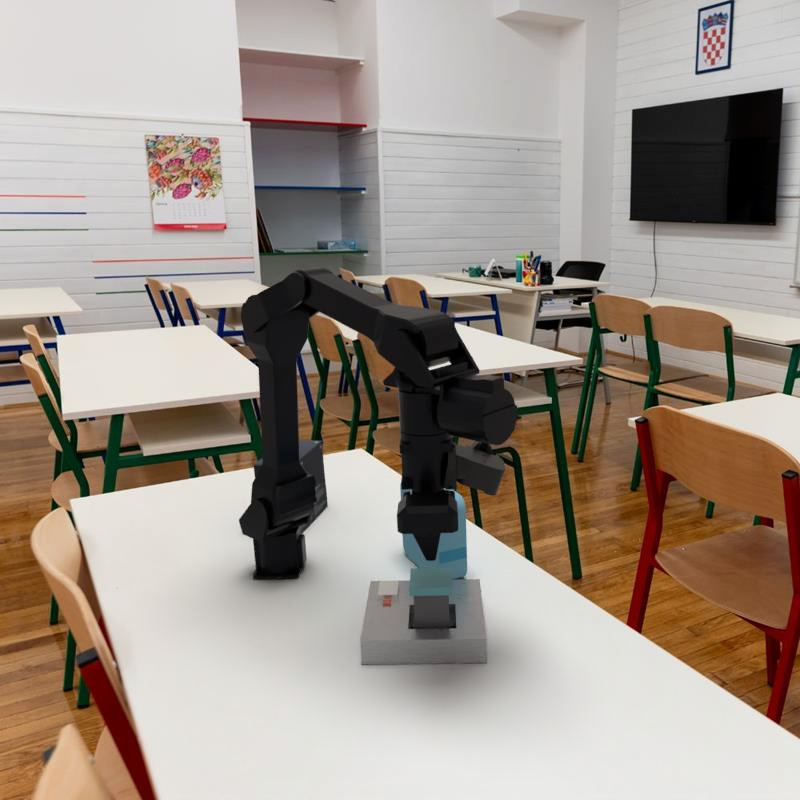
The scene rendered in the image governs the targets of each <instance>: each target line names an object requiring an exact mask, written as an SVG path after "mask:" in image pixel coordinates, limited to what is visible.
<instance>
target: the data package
mask: <svg viewBox="0 0 800 800" xmlns="http://www.w3.org/2000/svg"><path fill="white" fill-rule="evenodd" d="M399 487H400V501H401V500H402V499H403V493H405V492H410V489H403V490H402V487H401V484H400V486H399ZM444 490H446V489H445V488H444ZM449 491H454V492H455V500H456V501H457V507H458V531H456V532H454V533H441V535H440V540H439V546H438V551H437V556H436V560H434V561H427V560H426V559H425V557H424V555H423V553H422V551H421V549H420V547H419V545H418V543H417V542H416V540H415V538H414V536H413V534H402V533H401V535H402V547H403V550H404V554H405V556H406V557H407V558H408V559H409V560H410V561H411V562H412V563H413V564H414V565H415V566H416V568H451V574H452V580H458V579H460V578H464V577H465V576H467V574H468V549H467V548H468V547H467V543H468V541H467V540H468V539H467V509H466V508H467V507H466V506H467V505H466V503H465V500H464V497H463V496H462V495H461V494H460V493H459V492H457V491H455V490H449Z"/></svg>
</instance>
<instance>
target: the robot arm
mask: <svg viewBox="0 0 800 800" xmlns="http://www.w3.org/2000/svg"><path fill="white" fill-rule="evenodd" d="M240 310H241V311H240V321H241V324H242V331H243V336H244V337H243V338H244V342H245V344H246V345H247V346H248V348H249V349H250V351H251V352H252V354H253V355H254V357H255V358H256V360H257V364H258V386H259V389H258V390H259V391H258V392H259V406H260V407H259V410H260V411H259V412H260V427H261V428H260V429H261V430H260V431H261V433H260V435H261V453H262V456H261V457H262V458H263V463H262V466H261V468H260V469H259V471H258V473H257V475H256V477H255V476H254V479H253V481H252V485H251V495H250V496H251V497H250V504H249V505H248V507H247V508H246V509H245V510H244V512H243V514H242V515H241V516H240V518H239V519H238V524H239V526H240V530H241V533H242V535H244V536H247V537H248V538H251V539H252V543H253V544H252V545H253V553H254V563H255V569H254V572H253V573H252V579H255V580H258V579H259V580H262V579H263V580H264V579H267V580H268V579H296V578H297V579H298V578H299V577H300V575H301V574H302V573H301V572H302V571H303V570H302V569H304V568H305V565H306V562H307V561H308V560H307V547H306V536H305V534H304V533H302V534H301V530H300V526H301V525H304V524H308V523H309V522H310V517H311V512H312V511H313V508H314V503H315V502H317V498H316V494H315V484H316V479H315V477H314V476H313V475H309V474H308V473H307V472H306V470H305V469H304V467H303V466H302V465H301V463H300V456H299V440H300V437H299V436H300V430H299V428H300V427H299V400H298V399H299V397H298V396H299V395H298V391H299V390H298V367H297V366H298V358H299V356H300V354H301V352H302V350H303V348H304V346H305V345H306V343H307V341H308V338H309V337H308V336H309V327H310V320H311V319H312V318H313V317H314V316H316V315H318V314H319V313H320V314H321V313H322V314H323V315H325V316H327V317H328V318H330V319H333V320H334V321H337V323H339V324H342V325H344V326H345V327H347V328H348V329H350V330H353V331H354V332H357V333H358V334H361V336H364V337H366V338H368V340H370V341H371V342H373V345H374V348H375V349H376V352H377V354H378V355H379V356H380V357H382V358H383V359H384V360H385V361H386V362H388V363H389V364H390V365H392V367H394V368H393V370H392V371H391V373H390V374H388V375H387V376H386V377H385V378H384V379H383V381H382V383H383V386H385V387H391V388H397V392H398V393H397V394H398V395H397V396H398V397H397V398H398V415H399V416H398V418H399V435H400V437H399V438H400V439H399V454H400V455H401V456H400V459H401V460H400V461H401V479H400V485H401V487H402V490H403V489H410V492H405V493H403V499H402V500H401V499H400V501H398V503H397V511H396V523H397V524H396V525H397V527H396V528H397V533H398V534H399V533H400V534H401V535H402V534H413V536H414V538H415V540H416V542H417V543H418V545H419V547H420V549H421V551H422V553H423V555H424V557H425V559H426V560H427V561H434V560H436V556H437V551H438V546H439V540H440V535H441V533H454V532H456V531H458V507H457V501H456V500H455V492H454V491H455V490H458V485H457V484H459V485H462V486H465V487H469V488H471V489H474V490H477V491H480V492H483V493H484V494H485V495H488V496H491V497H493V496H497V494H498V492H499V489H500V486H501V483H502V480H503V478H504V474H505V472H506V465H505V462H504V460H503V458H502V457H500V455H499V454H497V453H496V454H493V448H492V446H500V445H503V444H505V443H506V442H507V441H508V439H509V438H510V437H511V436H512V435H513V432H514V430H515V427H516V425H517V420H518V405H517V404H516V402H515V399H514V397H513V395H512V393H511V392H510V391H509V390H508V389H506V388H505V379H504V377H503V376H497V375H489V376H484V375H479V374H480V372H481V371H480V368H479V366H478V365H477V363H476V362H475V359H474V357H473V356H472V355H471V353H470V351H469V349H468V348H467V346H466V344H465V343H464V341H463V339H462V337H461V336H460V334H459V332H458V330H457V328H456V323H455V322H456V321H455V320H454V319H453V318H452V317H451V316H450V315H449V314H447V313H445V312H443V311H439V310H436V309H430V308H427V307H422V306H410V305H402V304H401V305H400V304H397V303H394V302H391V301H389V300H388V299H385V298H383V297H380V296H379V295H376V294H375V293H372V292H371V291H368V290H366V289H364V288H362V287H360V286H358V285H356V284H354V283H353V282H349V281H348V280H346V279H343V278H342V277H339V276H338V275H335V274H334V273H333V272H332V271H331V270H330V269H329V268H328V269H327V268H325V267H322V266H317V267H310V268H303V269H297V270H294V271H293V272H291V273H289V274H288V275H287V276H286V277H285V278H283V280H281V281H279V282H277V283H275V284H274V285H272V286H269V287H267V288H265V289H264V290H262V291H260V292H258V293H257V294H251V295H250V296H248V297H247V299H246V300H245V302H243V303H242V305H241V309H240ZM447 363H449V364H447ZM444 364H446V365H444ZM440 365H443V366H440ZM437 366H440V367H437ZM432 367H433V369H429V368H432ZM434 367H436V368H434ZM456 437H457V438H460V439H461V438H462V439H466V440H471V441H473V442H472V443H471V445H467V444H465V446H463V445H461V444H460V445H459V444H456ZM444 488H445V489H446V490H444ZM449 490H454V491H449Z"/></svg>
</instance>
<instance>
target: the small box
mask: <svg viewBox="0 0 800 800" xmlns="http://www.w3.org/2000/svg"><path fill="white" fill-rule="evenodd" d="M323 449H324V448H323V441H322V440H305V439H304V440H302V439H299V456H300V463H301V465H302V466H303V467H304V469H305V470H306V472H307V473H308V474H309V475H313V476H314V477H315V479H316V484H315V494H316V498H317V502H315V503H314V508H313V511H312V512H311V517H310V522H309V523H308V524H304V525H301V526H300V530H301V534H304V532H305V531H306V530H307V529H308V527H309V526H310V525H311V524H312V523H313V522H314V521H315V520H316V519H317V518H318V516H320V515H321V513H322V512H323V511H324V510H325V509H326V508H327V507H328V503H329V502H328V492H327V483H326V475H325V474H326V473H325V463H324V450H323ZM262 463H263V457H262V458H259V460H258V461H256V462H255V463H254V464H253V465H252V466H253V471H254V473H253V474H254V478H255V477H256V475H257V473H258V471H259V469H260V468H261V466H262Z"/></svg>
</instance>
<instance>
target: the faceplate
mask: <svg viewBox="0 0 800 800" xmlns="http://www.w3.org/2000/svg"><path fill="white" fill-rule="evenodd" d="M409 586H410V579H409V580H406V579H405V580H371V581H370V583H369V588H368V595H367V599H366V606H365V612H364V617H363V623H362V629H361V633H360V634H361V636H360V640H359V641H360V656H361V665H418V664H419V665H421V664H422V665H423V664H425V665H427V664H429V665H430V664H434V665H436V664H487V663H488V651H487V650H488V649H487V646H488V645H487V643H488V642H487V631H486V622H485V615H484V613H485V612H484V606H483V597H482V588H481V587H482V586H481V581H480V579H479V578H476V579H475V578H471V579H470V578H469V579H468V578H467V579H466V578H465V579H464V578H463V579H460V578H458V579H453V580H452V595H449V619H450V629H415V620H414V597H413V596H410V590H409ZM451 627H452V628H451ZM453 627H454V628H453Z"/></svg>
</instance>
